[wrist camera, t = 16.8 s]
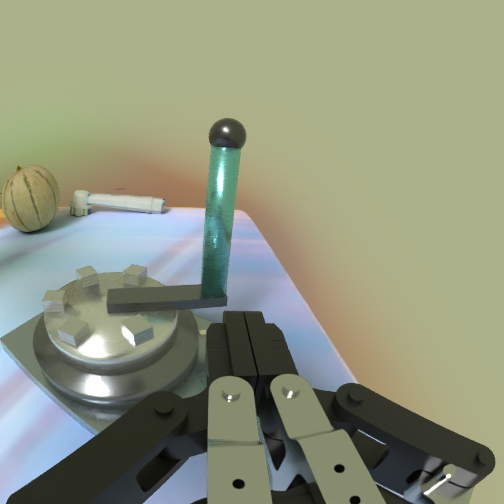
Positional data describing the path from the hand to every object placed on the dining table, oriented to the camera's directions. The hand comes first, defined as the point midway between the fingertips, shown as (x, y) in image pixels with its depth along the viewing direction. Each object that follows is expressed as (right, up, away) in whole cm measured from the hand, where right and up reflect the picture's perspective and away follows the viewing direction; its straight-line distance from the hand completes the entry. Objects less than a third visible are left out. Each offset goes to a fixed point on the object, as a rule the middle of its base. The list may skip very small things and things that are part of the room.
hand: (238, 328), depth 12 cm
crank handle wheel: (-10, -4, +14) cm, 18 cm away
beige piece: (-34, +13, +57) cm, 67 cm away
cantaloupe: (-49, +8, +41) cm, 64 cm away
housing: (-13, -7, +15) cm, 21 cm away
